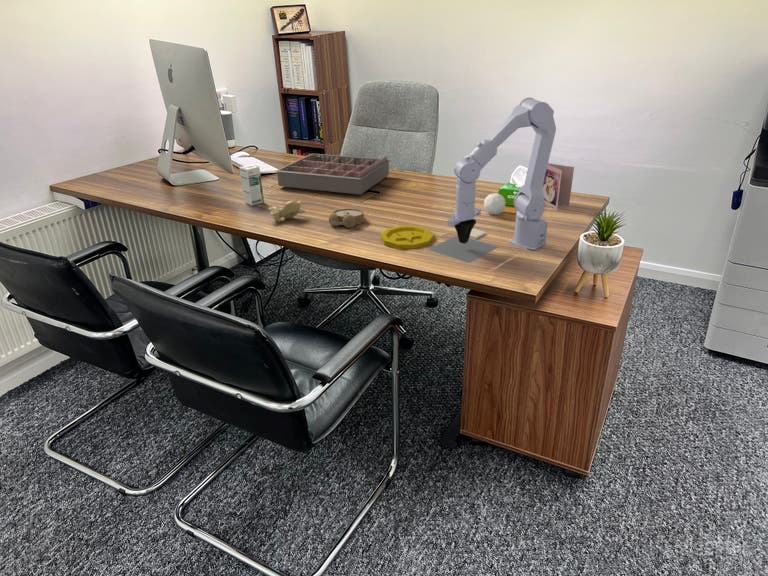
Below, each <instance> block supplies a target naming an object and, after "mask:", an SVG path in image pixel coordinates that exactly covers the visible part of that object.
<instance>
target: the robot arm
mask: <svg viewBox="0 0 768 576" xmlns="http://www.w3.org/2000/svg"><path fill="white" fill-rule="evenodd" d="M554 113H555V110H554V109H553V108H552V107H551V106H550V104H549V103H547V102H545V101H541V100H537V99H535V98H534V97H526V98H524V99H522V100H521V101H520V102H519V104H517V105H516V106H515V107H513V109H512V112H511V113H510V114H509V116H508V117H507V118H505V121H503V122H502V124H500V126H499V127H498V128H497V129H496V131H495V132H494V133H493V134H492V135H491V136H490V138H488V139H482V140H481V142H480V141H478V142H477V143H476V144H475V146H476V147H474V149H472V151H471V152H470V153H469V154H467V155H465V156H464V158H463V159H461V160H459V161H457V163H456V164H455V167H454V168H453V172H454V175H455V176H456V184H455V185H456V189H455V210H454V211H453V212H452V216H451V217H450V218H449V219H448V220H447V227H450V228H455V230H456V235H458V238H459V242H460V243H463V244H465V243H467V242H468V240H469V238H470V233H471V231H472V229H474V227H475V225H476V224H477V220H476V219H475V218H476V217H477V216H480V215H482V213H481V212H482V208H479V207H475V206H476V204H475V203H476V188H477V187H476V185H477V184H476V182H477V180H478V179H479V178H480V174H481V171H482V170H483V169H484V167H485V166H487V165H488V164H489V162H490V161H492V159H493V158H494V157H495V156H496V155H497V153H498V147H500V146H501V145H502V144H503V143H504V142H505V141H506V140H507V139H509V138H510V136H512V134H513V133H515V132H516V131H517V130H518V129H520V128H528V127H529V128H530V127H531V128H532V129H533V131H534V132H535V137H534V141H533V145H532V149H531V153H530V158H529V162H528V167H527V171H526V175H525V180H524V184H523V185H522V186H521V187H519V189H518V193H517V194H516V196H515V197H514V200H513V206H514V208H515V210H516V214H515V225H514V235H513V236H514V237H513V238H512V239H510V240H508V243H509V244H513V245H516V246H519V247H522V248H525V249H528V250H531V251H535V250H537V249H539V248H541V247H542V246H544V245H547V240H546V239H547V233H548V232H547V231H548V222H547V221H546V220H544V219H542V218H541V217H542V216H543V214H544V212H545V204H544V198H545V197H544V194H543V191H542V186H543V182H544V177H545V173H546V169H547V165H548V163H549V161H550V157H551V153H552V148H553V145H554V141H555V140H554V139H555V137H556V132H557V127H556V122H555V118H554Z"/></svg>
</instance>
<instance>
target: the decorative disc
mask: <svg viewBox="0 0 768 576" xmlns="http://www.w3.org/2000/svg"><path fill="white" fill-rule="evenodd" d="M434 239H435V234H434V233H433V232H432V231H431V229H430V228H426V227H422V226H419V225H397V226H394V227H393V226H392V227H390V228H389V227H388V228H386V229H385V230H384V231H383V232H381V234H380V240H381V242H382V243H383V245H384V246H386V247H388V248H392V249H396V250H406V249H416V248H421V247H424V246H428V245H430V243H432V242H433V240H434Z"/></svg>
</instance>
